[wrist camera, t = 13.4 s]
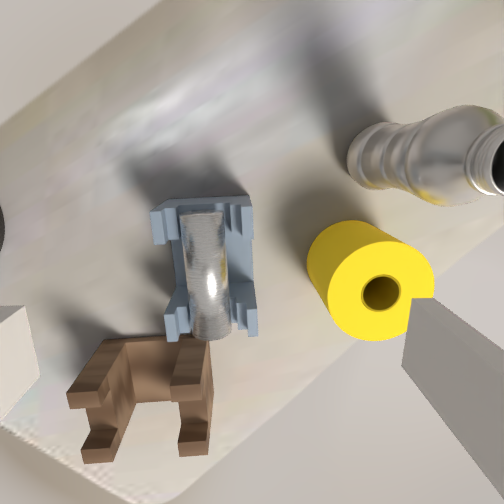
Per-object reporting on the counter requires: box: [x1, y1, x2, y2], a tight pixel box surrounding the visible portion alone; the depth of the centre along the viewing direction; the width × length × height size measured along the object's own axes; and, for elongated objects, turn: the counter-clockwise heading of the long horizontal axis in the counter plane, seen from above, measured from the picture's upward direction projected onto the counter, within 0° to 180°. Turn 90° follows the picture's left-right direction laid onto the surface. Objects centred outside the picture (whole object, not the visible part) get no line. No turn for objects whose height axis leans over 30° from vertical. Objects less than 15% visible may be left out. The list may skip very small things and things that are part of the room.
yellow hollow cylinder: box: [307, 220, 434, 341], centre depth 35 cm, size 10×10×9 cm
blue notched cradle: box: [150, 195, 258, 342], centre depth 34 cm, size 9×13×8 cm
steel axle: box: [179, 209, 232, 341], centre depth 32 cm, size 12×4×4 cm, turn 3°
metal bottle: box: [347, 105, 504, 207], centre depth 26 cm, size 6×7×20 cm
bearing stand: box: [66, 334, 214, 464], centre depth 38 cm, size 9×13×10 cm
